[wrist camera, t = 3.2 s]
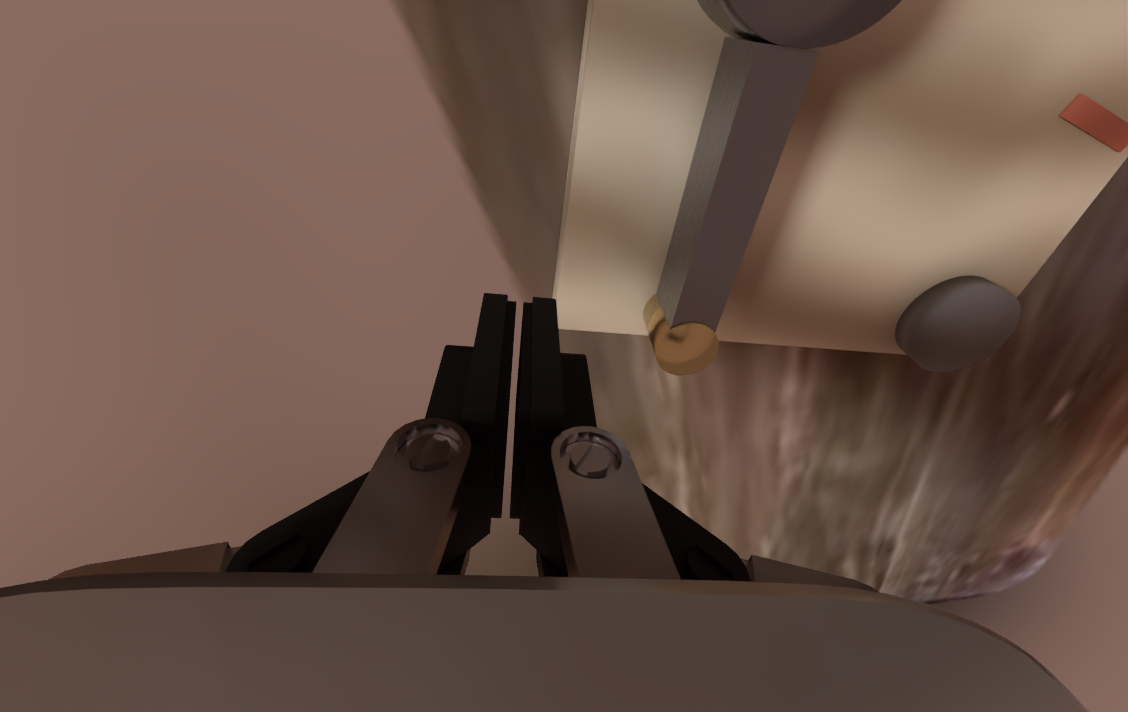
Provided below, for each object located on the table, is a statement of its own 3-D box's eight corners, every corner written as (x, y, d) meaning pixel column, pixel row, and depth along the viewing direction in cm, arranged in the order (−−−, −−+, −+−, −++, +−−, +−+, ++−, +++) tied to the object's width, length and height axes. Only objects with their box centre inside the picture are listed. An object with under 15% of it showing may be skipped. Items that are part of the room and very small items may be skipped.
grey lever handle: (719, -251, 10) (774, -328, 8) (927, -205, 11) (1039, -264, 8) (603, 327, 19) (612, 374, 17) (720, 336, 20) (746, 383, 17)
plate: (657, -579, 9) (706, -814, 7) (1429, -357, 11) (1706, -468, 9) (551, 303, 21) (553, 347, 18) (938, 334, 23) (991, 378, 20)
